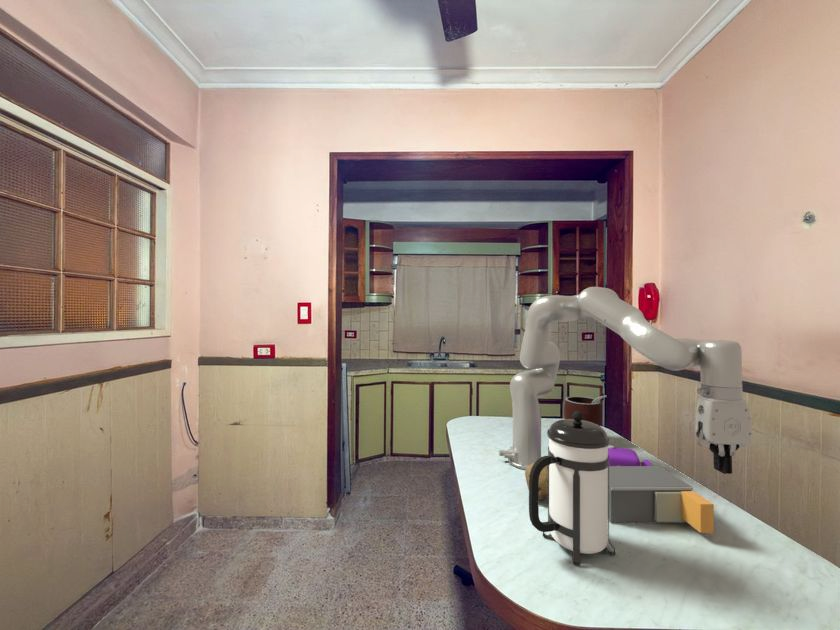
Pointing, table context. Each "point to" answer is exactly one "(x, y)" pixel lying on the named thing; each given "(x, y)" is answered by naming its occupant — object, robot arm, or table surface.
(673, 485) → the box
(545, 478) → the natural sponge
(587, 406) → the mate gourd
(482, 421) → the table surface
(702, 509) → the orange block handle
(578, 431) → the coffee press
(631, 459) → the toy camera
